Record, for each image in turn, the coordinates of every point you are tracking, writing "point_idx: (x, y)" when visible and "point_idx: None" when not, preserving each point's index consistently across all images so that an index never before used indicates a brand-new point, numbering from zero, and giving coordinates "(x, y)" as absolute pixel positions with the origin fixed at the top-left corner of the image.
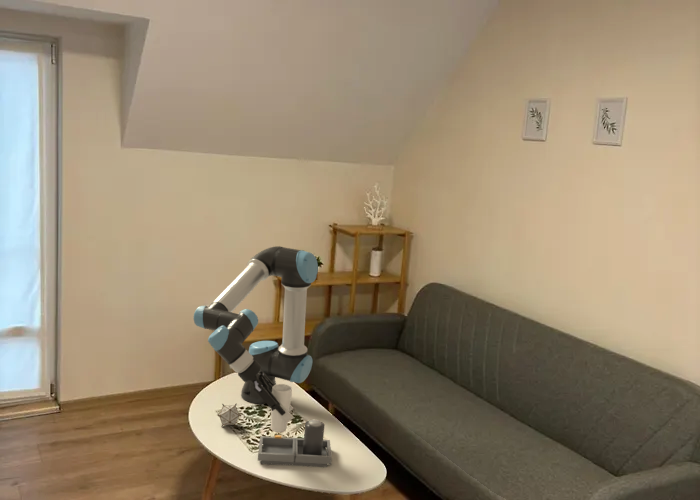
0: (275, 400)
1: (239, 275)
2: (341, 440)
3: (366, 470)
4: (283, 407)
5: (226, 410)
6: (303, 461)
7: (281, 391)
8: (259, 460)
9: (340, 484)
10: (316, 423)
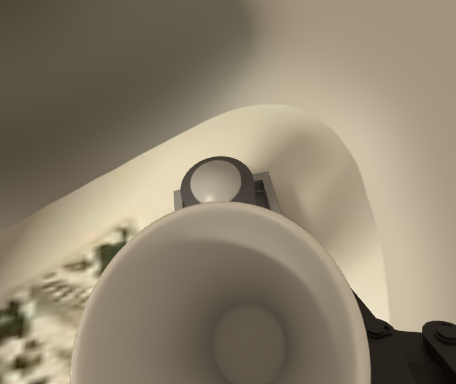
0: (413, 380)
1: None
2: (133, 185)
3: (255, 125)
4: None
5: None
6: None
7: (358, 308)
8: None
9: (335, 157)
10: (224, 174)
